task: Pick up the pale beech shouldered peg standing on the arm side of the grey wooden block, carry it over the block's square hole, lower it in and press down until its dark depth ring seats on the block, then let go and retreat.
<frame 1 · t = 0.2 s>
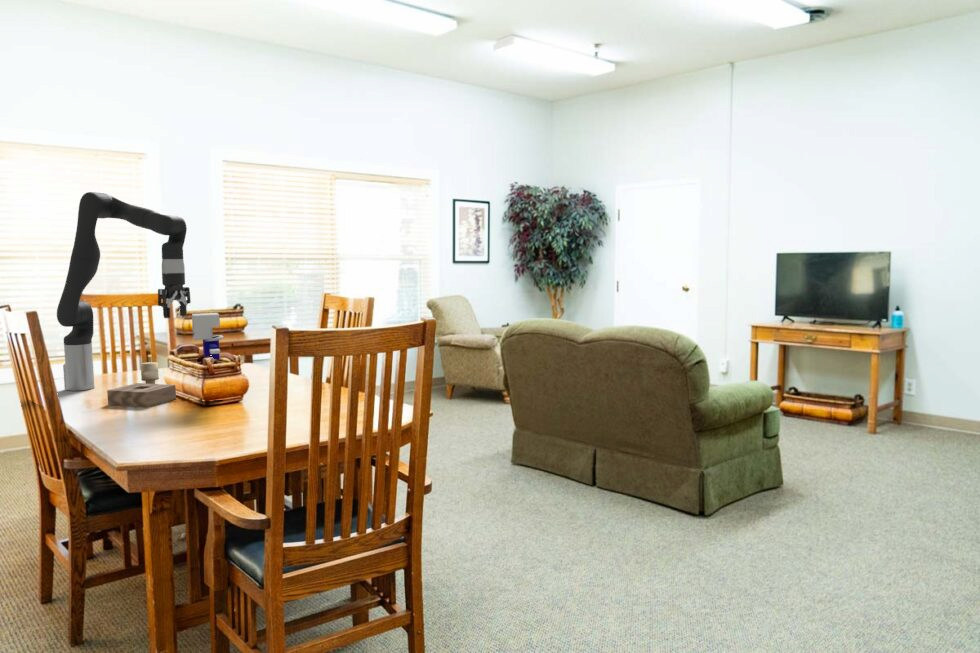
hand: (175, 316, 267), 28 cm above the table, fingers open, 8 cm apart
peg: (150, 391, 275), on the table
grey wooden block: (142, 401, 256), on the table
toy: (211, 400, 259), on the table
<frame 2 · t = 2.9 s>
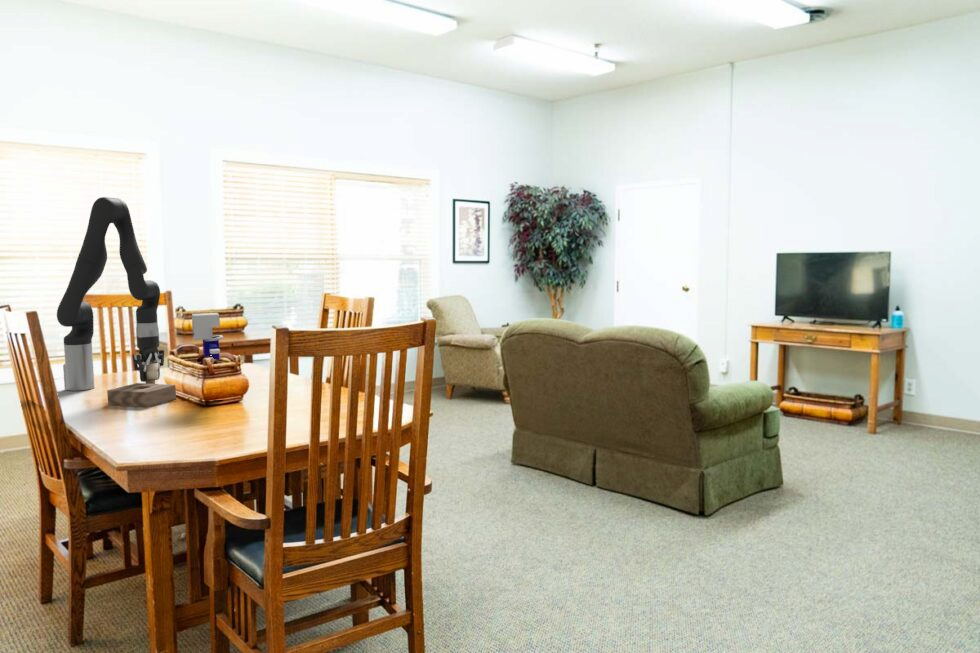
hand: (150, 379, 275), 4 cm above the table, fingers closed on peg, 6 cm apart
peg: (150, 391, 275), on the table, touching gripper
everything else where it was.
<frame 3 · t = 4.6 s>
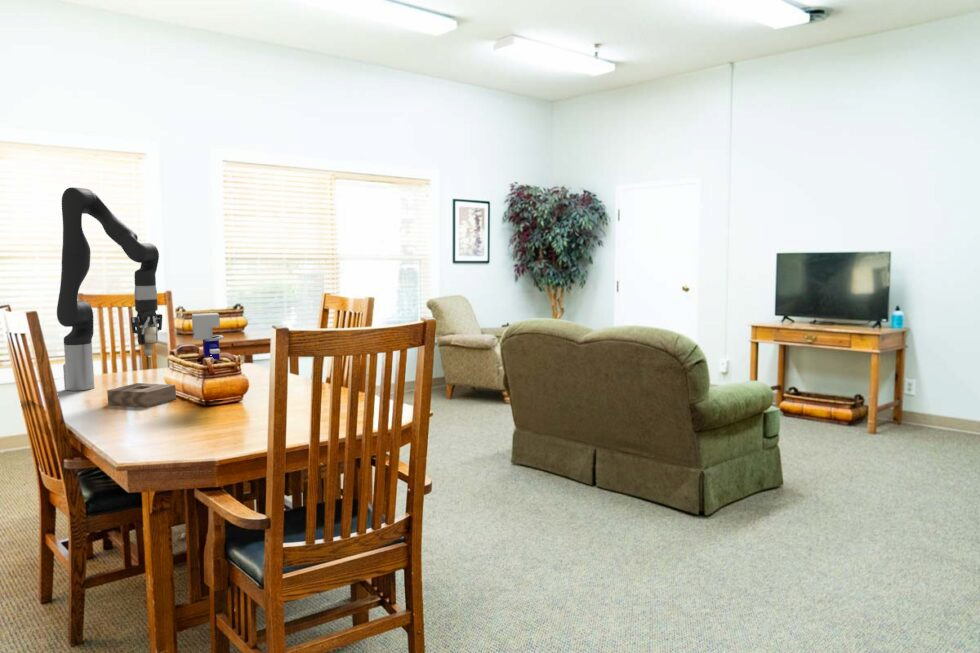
hand: (148, 343, 273), 18 cm above the table, fingers closed on peg, 6 cm apart
peg: (148, 355, 274), point 14 cm above the table, touching gripper
everything else where it was.
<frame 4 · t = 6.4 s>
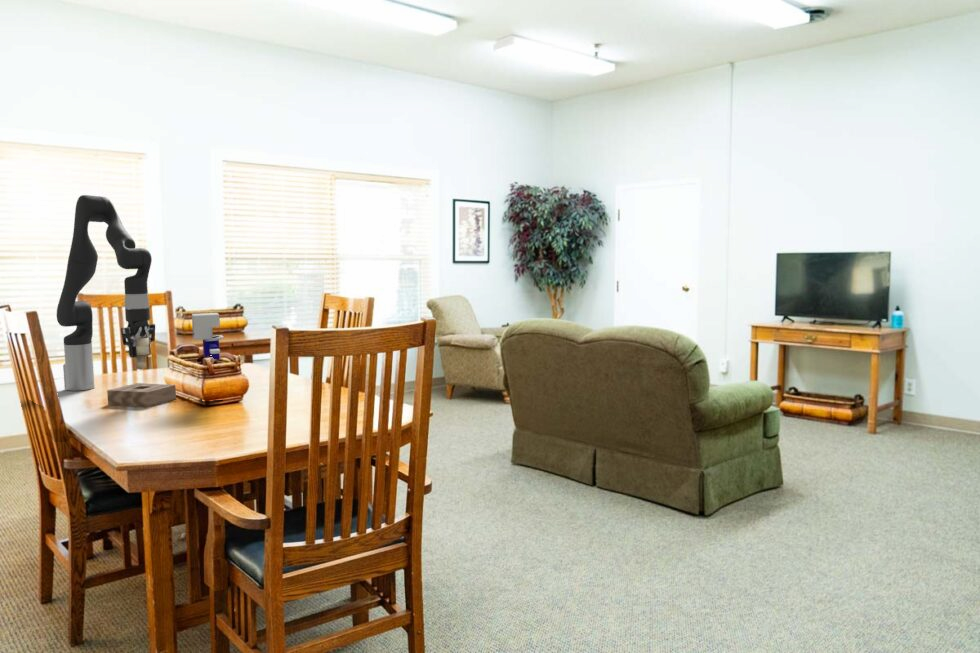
hand: (140, 355, 254), 16 cm above the table, fingers closed on peg, 6 cm apart
peg: (141, 368, 255), point 12 cm above the table, touching gripper
everything else where it was.
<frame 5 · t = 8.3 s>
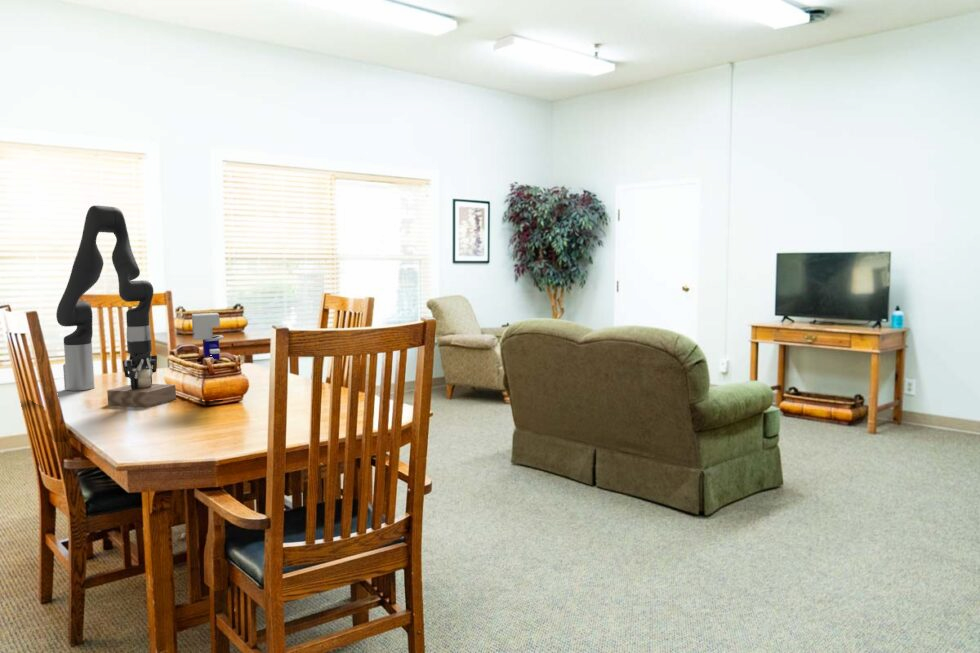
hand: (141, 387, 255), 5 cm above the table, fingers closed on peg, 6 cm apart
peg: (142, 399, 256), point 1 cm above the table, touching gripper
everything else where it was.
when the fingers open (5 cm above the table, at t = 9.4 s): peg stays where it is, resting on grey wooden block.
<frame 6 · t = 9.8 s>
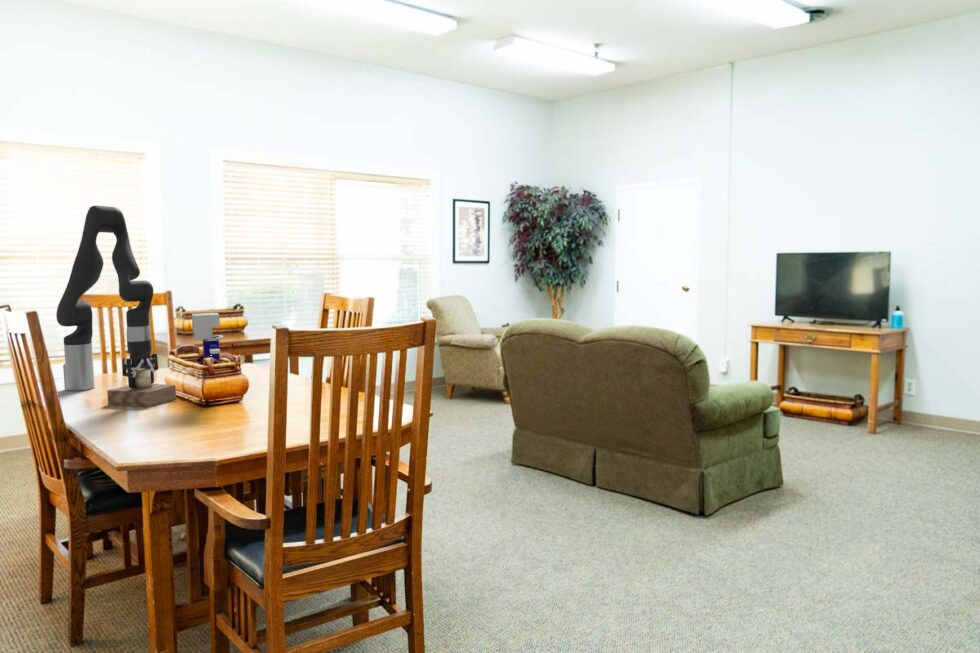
hand: (141, 385, 255), 6 cm above the table, fingers open, 8 cm apart
peg: (142, 400, 256), resting on grey wooden block
everything else where it was.
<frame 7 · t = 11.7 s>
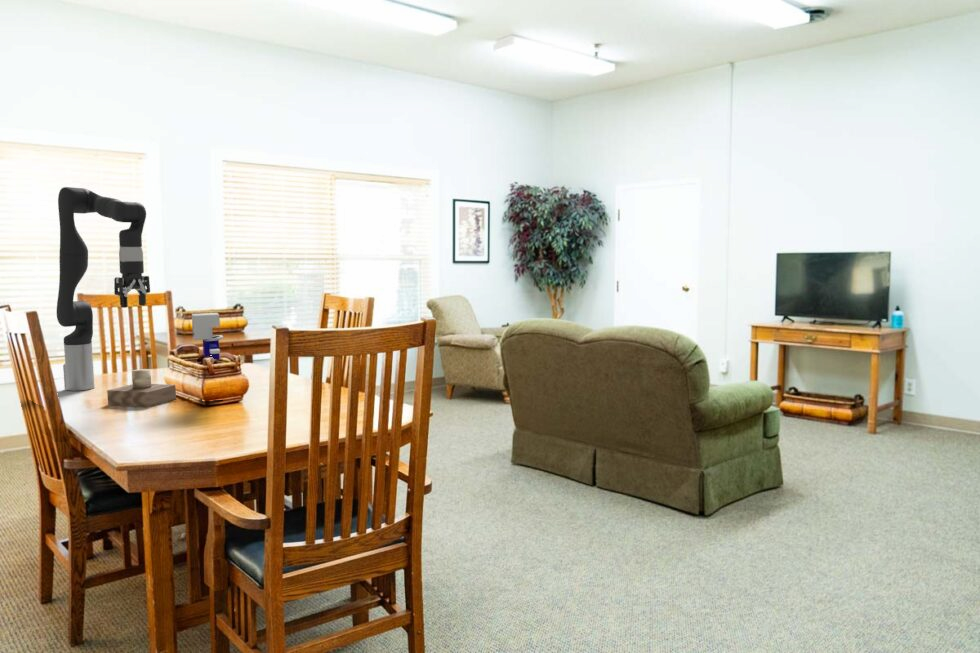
hand: (133, 306, 260), 33 cm above the table, fingers open, 8 cm apart
nothing on the table moved.
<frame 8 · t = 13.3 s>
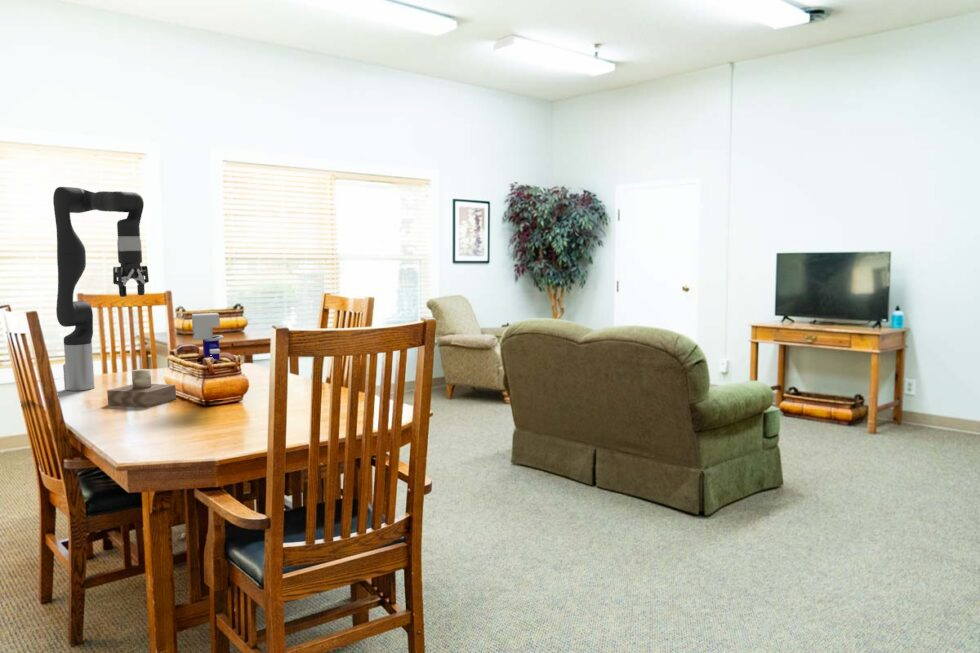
hand: (132, 295, 261), 36 cm above the table, fingers open, 8 cm apart
nothing on the table moved.
at the end: peg 0.1 cm off-centre on the grey wooden block, point 0.5 cm above the grey wooden block's base; peg tilted 0°; the gripper is holding nothing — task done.
